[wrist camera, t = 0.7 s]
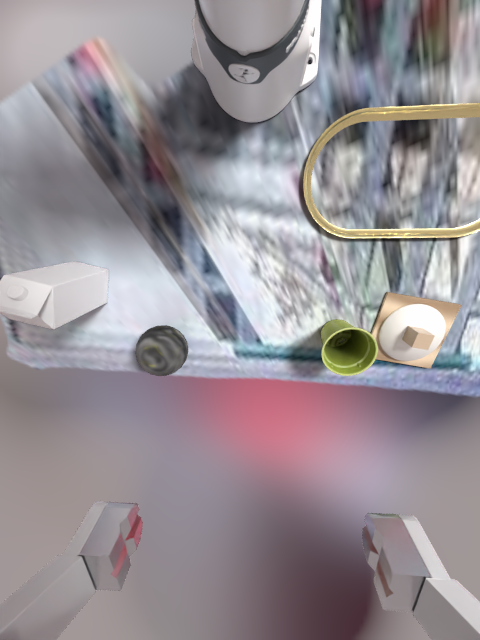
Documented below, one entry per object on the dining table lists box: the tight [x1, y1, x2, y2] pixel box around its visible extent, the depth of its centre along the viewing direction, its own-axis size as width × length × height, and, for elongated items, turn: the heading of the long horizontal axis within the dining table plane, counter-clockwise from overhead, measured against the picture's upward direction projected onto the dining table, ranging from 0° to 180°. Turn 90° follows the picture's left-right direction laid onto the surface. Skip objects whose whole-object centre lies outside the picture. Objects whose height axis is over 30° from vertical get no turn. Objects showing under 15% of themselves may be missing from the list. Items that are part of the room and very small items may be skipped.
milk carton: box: [0, 261, 109, 330], centre depth 43 cm, size 7×7×19 cm
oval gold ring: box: [303, 103, 480, 238], centre depth 41 cm, size 19×35×2 cm, turn 91°
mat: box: [371, 292, 461, 368], centre depth 50 cm, size 14×14×1 cm
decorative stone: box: [136, 326, 188, 376], centre depth 50 cm, size 10×10×10 cm
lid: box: [379, 304, 446, 361], centre depth 48 cm, size 12×12×4 cm
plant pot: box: [321, 319, 378, 376], centre depth 48 cm, size 9×9×9 cm
